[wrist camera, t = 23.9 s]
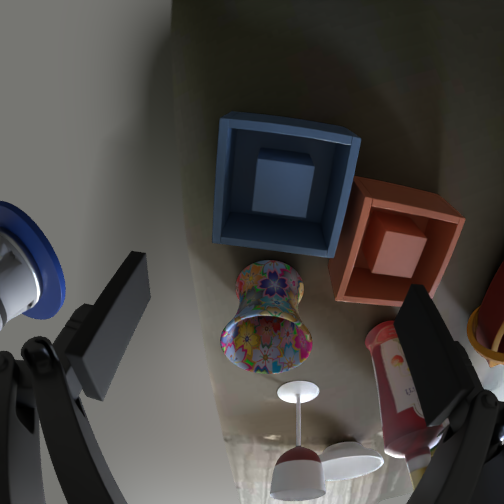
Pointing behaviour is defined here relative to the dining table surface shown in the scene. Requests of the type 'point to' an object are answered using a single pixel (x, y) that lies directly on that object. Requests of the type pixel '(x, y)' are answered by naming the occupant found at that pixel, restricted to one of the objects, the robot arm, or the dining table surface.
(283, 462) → the wineglass
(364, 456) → the bowl
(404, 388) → the liquor
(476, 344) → the decorative basket
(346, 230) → the terracotta bin
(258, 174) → the slate block
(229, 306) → the dining table surface
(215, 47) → the dining table surface
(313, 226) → the slate bin
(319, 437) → the dining table surface
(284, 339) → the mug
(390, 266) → the terracotta block
